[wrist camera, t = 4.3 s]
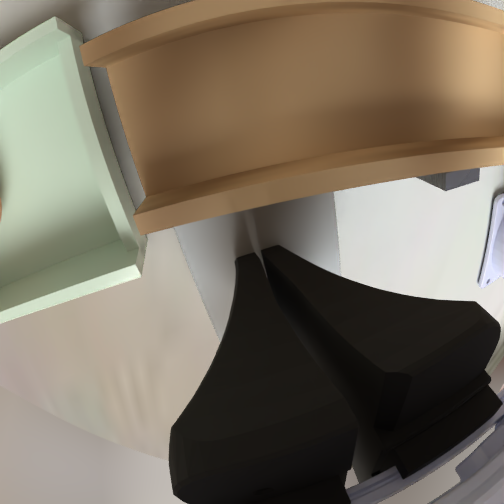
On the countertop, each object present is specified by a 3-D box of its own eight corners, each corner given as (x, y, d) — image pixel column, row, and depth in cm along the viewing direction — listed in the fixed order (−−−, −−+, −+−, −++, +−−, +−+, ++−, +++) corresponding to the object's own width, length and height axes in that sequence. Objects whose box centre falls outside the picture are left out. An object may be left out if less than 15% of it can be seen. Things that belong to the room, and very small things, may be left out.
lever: (539, 39, 6) (577, 44, 3) (532, 246, 11) (559, 271, 9) (112, 52, 7) (71, 44, 5) (210, 332, 13) (207, 381, 10)
